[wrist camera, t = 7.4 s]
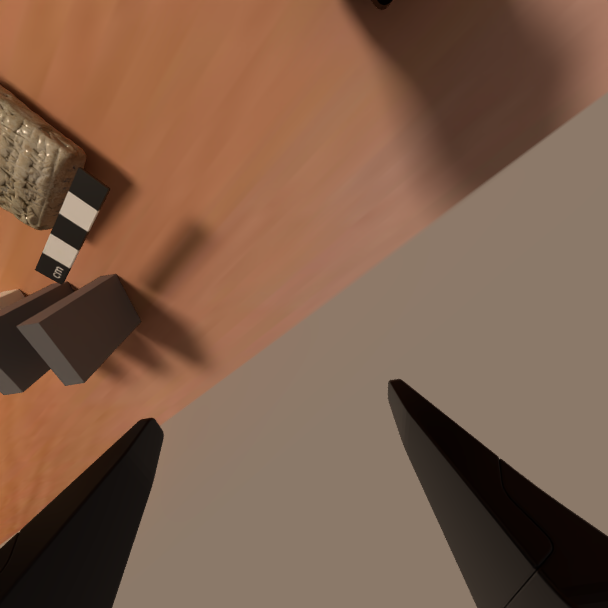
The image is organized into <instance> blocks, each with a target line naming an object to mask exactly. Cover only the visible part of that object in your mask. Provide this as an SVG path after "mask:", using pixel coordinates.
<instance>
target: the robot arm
mask: <svg viewBox="0 0 608 608" xmlns="http://www.w3.org/2000/svg"><path fill="white" fill-rule="evenodd" d="M371 1H372V2H373V4H374V5H375V7H376V8H377V9H380V10H383V9H386V8H387V7H388V6H389V5H390V3H391V2H392V1H393V0H371ZM388 400H389V404H390V407H391V410H392V413H393V416H394V419H395V422H396V425H397V428H398V431H399V434H400V437H401V440H402V442H403V445H404V447H405V450H406V452H407V455H408V456H409V459H410V461H411V463H412V466H413V468H414V470H415V472H416V474H417V476H418V478H419V481H420V483H421V485H422V487H423V489H424V492H425V494H426V496H427V498H428V501H429V503H430V505H431V507H432V509H433V511H434V514H435V516H436V518H437V520H438V522H439V524H440V527H441V529H442V531H443V533H444V535H445V538H446V540H447V542H448V544H449V546H450V549H451V551H452V553H453V555H454V557H455V560H456V562H457V564H458V566H459V568H460V571H461V573H462V575H463V577H464V579H465V581H466V584H467V586H468V588H469V590H470V592H471V595H472V597H473V599H474V601H475V603H476V606H477V608H608V536H607V535H605V534H604V533H602V532H601V531H600V530H598V529H597V528H595V527H594V526H592V525H591V524H589V523H588V522H587V521H585V520H583V519H582V518H581V517H579V516H578V515H576V514H575V513H573V512H572V511H571V510H569V509H568V508H566V507H565V506H563V505H562V504H561V503H559V502H558V501H556V500H555V499H554V498H552V497H551V496H549V495H548V494H547V493H545V492H544V491H542V490H541V489H540V488H538V487H537V486H536V485H534V484H533V483H532V482H530V481H529V480H528V479H526V478H525V477H524V476H523V475H521V474H520V473H519V472H517V471H516V470H514V469H513V468H512V467H511V466H510V465H508V464H507V463H506V462H505V461H503V460H502V459H499V458H498V456H497V455H495V454H494V453H493V452H492V451H491V450H489V449H488V448H487V447H485V446H484V445H483V444H482V443H481V442H479V441H478V440H477V439H476V438H474V437H473V436H472V435H471V434H469V433H468V432H467V431H465V430H464V429H463V428H462V427H460V426H459V425H458V424H457V423H455V422H454V421H453V420H451V419H450V418H449V417H448V416H447V415H445V414H444V413H443V412H442V411H440V410H439V409H438V408H436V407H435V406H434V405H433V404H431V403H430V402H429V401H428V400H426V399H425V398H424V397H422V396H421V395H420V394H419V393H418V392H416V391H415V390H414V389H413V388H411V387H410V386H409V385H408V384H406V383H405V382H404V381H402V380H401V379H395V380H390V381H389V383H388ZM163 437H164V434H163V431H162V429H161V428H160V426H159V425H158V423H157V422H156V420H155V419H154V418H146V419H142V420H140V421H138V422H137V423H136V424H135V425H134V426H133V427H132V428H131V429H130V430H129V431H127V432H126V433H125V434H124V435H123V436H122V437H121V438H120V439H119V440H118V441H117V442H116V443H114V444H113V445H112V446H111V447H110V448H109V449H108V450H107V451H106V452H105V453H104V454H103V455H101V456H100V457H99V458H98V459H97V460H96V461H95V462H94V463H93V464H92V465H91V466H90V467H88V468H87V469H86V470H85V471H84V472H83V473H82V474H81V475H80V476H79V477H78V478H77V479H75V480H74V481H73V482H72V483H71V484H70V485H69V486H68V487H67V488H66V489H65V490H63V491H62V492H61V493H60V494H59V495H58V496H57V497H56V498H55V499H54V500H53V501H52V502H50V503H49V504H48V505H47V506H46V507H45V508H44V509H43V510H42V511H41V512H40V513H39V514H37V515H36V516H35V517H34V518H33V519H32V520H31V521H30V522H29V523H28V524H27V525H25V526H24V527H23V528H22V529H21V531H20V532H19V533H17V534H16V535H15V536H13V537H12V538H11V539H10V540H9V541H8V542H7V543H6V544H5V545H4V546H3V547H2V548H0V608H112V606H113V603H114V600H115V597H116V594H117V591H118V588H119V585H120V582H121V579H122V576H123V573H124V570H125V567H126V564H127V561H128V558H129V555H130V552H131V549H132V546H133V542H134V540H135V537H136V534H137V531H138V527H139V524H140V521H141V518H142V515H143V512H144V509H145V506H146V503H147V500H148V497H149V494H150V491H151V488H152V484H153V481H154V476H155V473H156V468H157V464H158V459H159V455H160V451H161V447H162V442H163Z"/></svg>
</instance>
